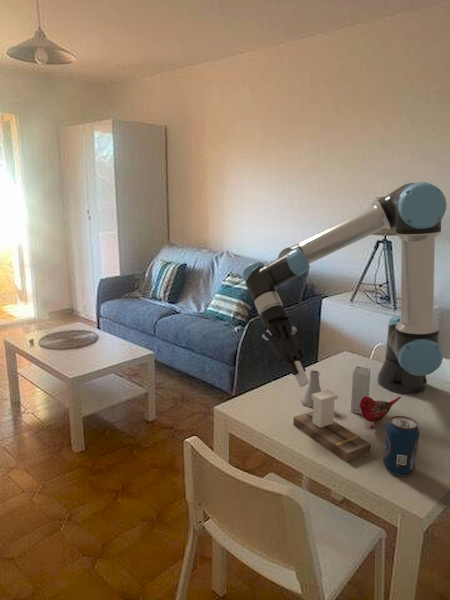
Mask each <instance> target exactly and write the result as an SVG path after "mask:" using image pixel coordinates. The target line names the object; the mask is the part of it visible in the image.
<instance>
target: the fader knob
mask: <svg viewBox="0 0 450 600" xmlns="http://www.w3.org/2000/svg"><path fill="white" fill-rule="evenodd" d="M311 399H313V400H314V404H313V407H312V411H313V420H312V423H313V424H315V425H316V426H318V427H320V428H321V427H324V426H327V425H330V424H333V421H334V413H335V412H334V411H335V401H336V400H338V394H337V393H335V392H333V391H331V390H330V389H326V390H321V392H318V393H314V394H312V395H311Z"/></svg>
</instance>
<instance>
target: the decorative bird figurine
mask: <svg viewBox="0 0 450 600" xmlns="http://www.w3.org/2000/svg"><path fill="white" fill-rule="evenodd" d="M401 397H402V396H399V397H397V398H394V399H393V400H391V401H389V402H388V401H386V400H385V401H384V400H374V399H373V398H372V397H370V396H369V397H363V398H362V400H361V402H360V405H359V407H360V408H361V411H362V414H361V416H362V417H363V418H364V420H366V421H368V422H369V423H372V424H371V425H370V426H367V429H369V428H370V429H371V428H375V427H376V426H378V425H380V421H381V420H382V419H383V418H384V417H385V416H386V415H388V413H389V412H390V410H391V408H392V406H393V405H395V404H396V403H397V402H398V401H399V400H400V399H401Z"/></svg>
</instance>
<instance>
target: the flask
mask: <svg viewBox="0 0 450 600" xmlns="http://www.w3.org/2000/svg"><path fill="white" fill-rule="evenodd" d="M308 373H309V379H308V381H309V383H308V384H307V386H306V388H305V391H304V393H303V395H302V397H301V399H300V402H301V404H302V405H303V406H304V407H310V408H313V404H314V400H313V399H311V395H312V394H314V393H318V392H321V391H322V388H321V385H320V375H321V371H319V370H317V369H310V370H309V371H308Z"/></svg>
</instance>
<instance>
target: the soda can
mask: <svg viewBox="0 0 450 600" xmlns="http://www.w3.org/2000/svg"><path fill="white" fill-rule="evenodd" d="M419 440H420V429H419V426H418V422H417V421H416V420H415V419H413V418H412V417H408V416H405V415H404V416H403V415H393V416H392V417H391V418H390V419H389V422H388V423H387V424H386V433H385V442H384V451H383V464H384V466H385V469H386V470H387V471H388V472H389V473H391V474H393V475H396V476H399V477H407V476H409V475H411V474H412V473H413V472H414V471H415V469H416V464H417V456H418V449H419V448H418V447H419Z"/></svg>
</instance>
